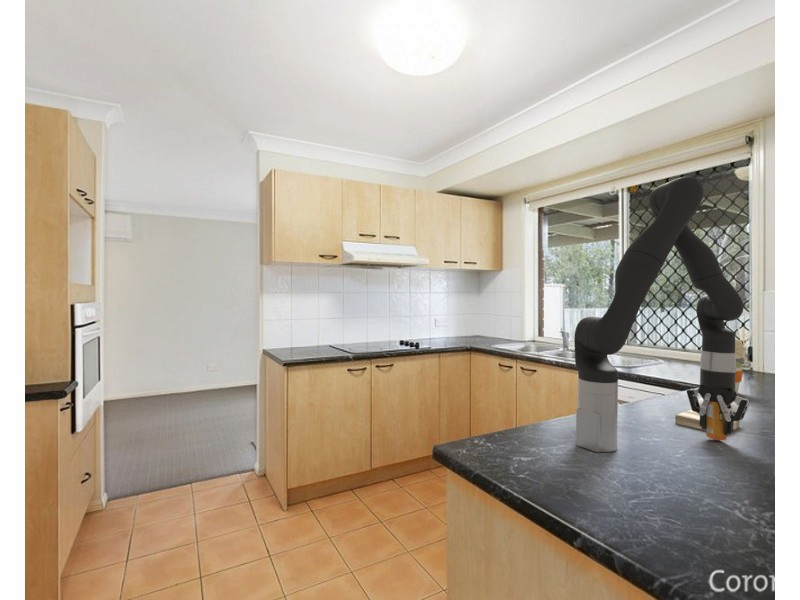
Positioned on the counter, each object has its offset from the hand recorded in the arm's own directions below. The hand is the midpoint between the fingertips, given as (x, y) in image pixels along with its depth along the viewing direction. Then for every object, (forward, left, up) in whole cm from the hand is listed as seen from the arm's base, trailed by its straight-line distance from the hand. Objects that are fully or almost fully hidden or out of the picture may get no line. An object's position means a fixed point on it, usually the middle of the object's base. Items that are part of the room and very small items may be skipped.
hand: (716, 431), depth 110 cm
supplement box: (0, 0, -2) cm, 2 cm away
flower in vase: (+34, +11, -3) cm, 36 cm away
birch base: (+13, +7, -2) cm, 15 cm away
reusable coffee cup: (+68, +21, -3) cm, 71 cm away
